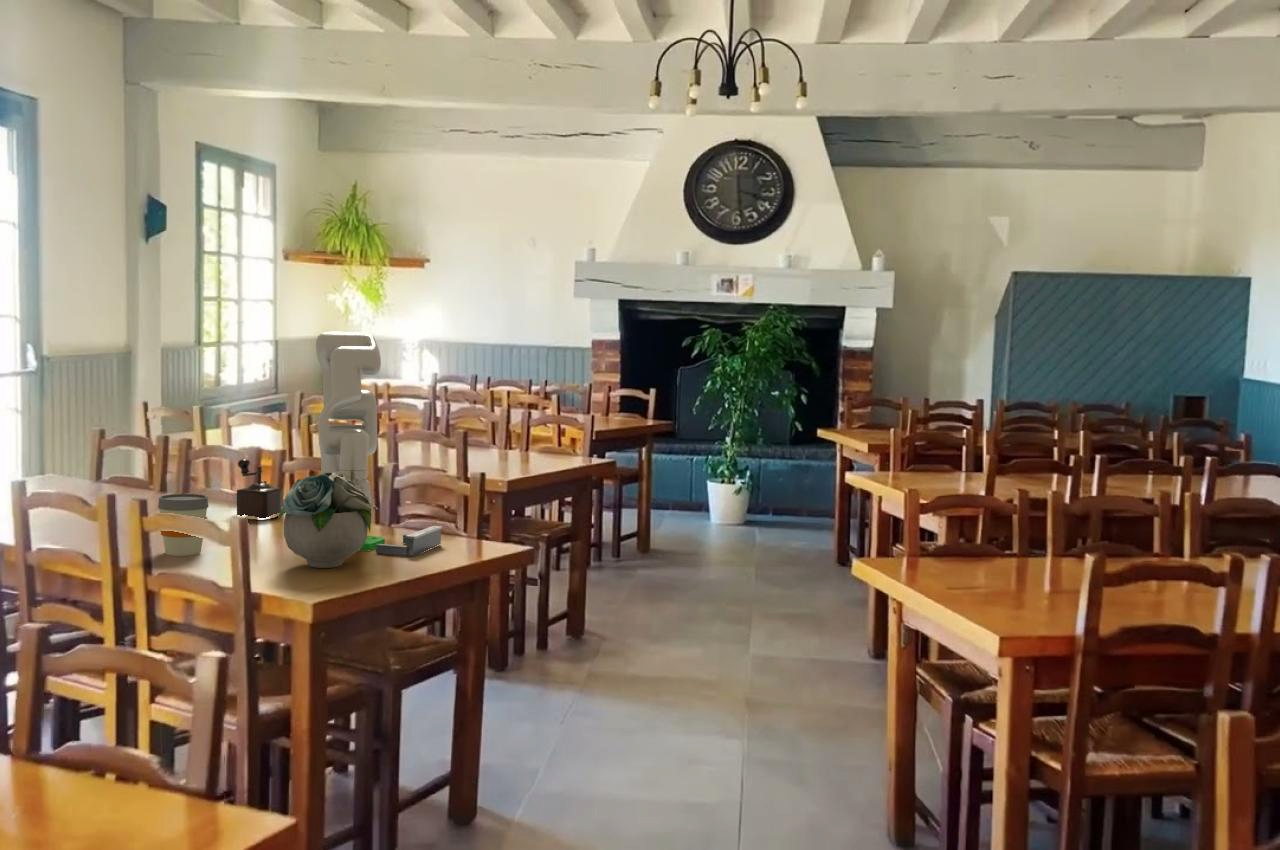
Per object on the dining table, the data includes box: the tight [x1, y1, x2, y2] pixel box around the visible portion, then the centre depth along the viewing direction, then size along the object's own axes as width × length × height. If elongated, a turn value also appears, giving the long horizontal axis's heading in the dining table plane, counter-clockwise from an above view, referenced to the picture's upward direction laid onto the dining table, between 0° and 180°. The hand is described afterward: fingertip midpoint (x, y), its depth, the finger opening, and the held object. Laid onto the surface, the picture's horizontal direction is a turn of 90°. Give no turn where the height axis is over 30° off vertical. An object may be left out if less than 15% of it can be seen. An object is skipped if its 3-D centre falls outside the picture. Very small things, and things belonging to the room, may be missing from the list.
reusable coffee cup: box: [157, 493, 209, 557], centre depth 310 cm, size 13×13×15 cm
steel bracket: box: [375, 525, 443, 558], centre depth 327 cm, size 11×19×6 cm, turn 166°
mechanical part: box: [359, 535, 386, 551], centre depth 329 cm, size 12×6×8 cm, turn 167°
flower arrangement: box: [276, 473, 379, 569], centre depth 300 cm, size 25×25×24 cm
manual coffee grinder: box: [236, 458, 283, 518], centre depth 371 cm, size 16×11×18 cm
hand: (352, 539), depth 331 cm, fingers closed
